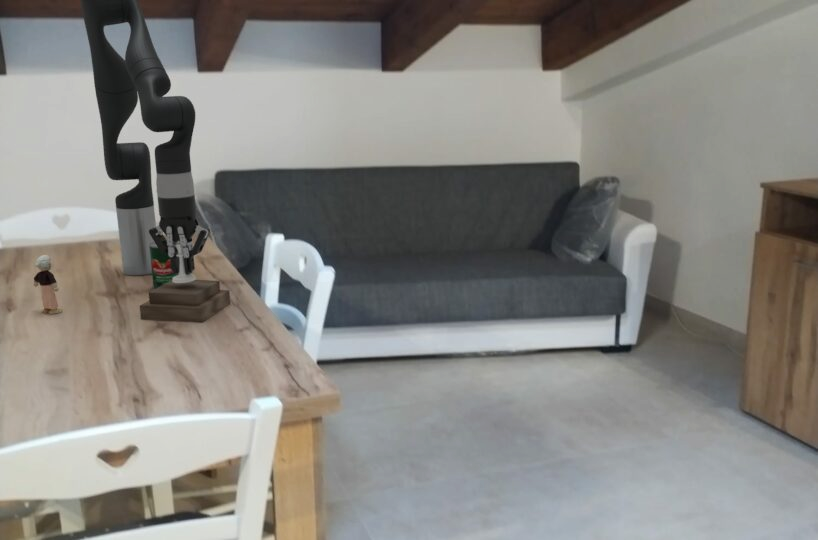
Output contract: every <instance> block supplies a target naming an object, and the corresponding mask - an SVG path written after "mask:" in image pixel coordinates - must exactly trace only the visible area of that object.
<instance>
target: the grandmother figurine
mask: <svg viewBox="0 0 818 540" xmlns="http://www.w3.org/2000/svg"><path fill="white" fill-rule="evenodd" d="M35 267H36V268H38V270H40V271H39V272H37V273H36V274H35V276H34V277H33V286H34V287H36V288H37V287H40V288H41V299H42V306H43V307H42V308H43V309H42V310H41V313H42V314H46V313H48V314H49V315H54V314H60V313H63V309H62V308H60V307H59V303H58V299H57V296H56V292H58V291H59V287H58V283H57V279H56V277H55V275H54V273H52V272H51V271H50V270H51V268H52V263H51V257H50V256H49V255H47V254H43V255H40V256H39V257H38V258H37V259H36V261H35V263H34V268H35Z"/></svg>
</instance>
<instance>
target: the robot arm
mask: <svg viewBox="0 0 818 540" xmlns="http://www.w3.org/2000/svg"><path fill="white" fill-rule="evenodd" d="M79 2H80V7H81V13H82V18H83V21H84V27H85V30H86V36H87V41H88V44H89V50H90V57H91V64H92V65H91V66H92V72H93V73H92V74H93V81H94V82H93V83H94V89H95V96H96V102H97V107H98V112H99V117H100V124H101V132H102V133H101V134H102V135H101V136H102V144H103V145H102V147H103V159H104V161H103V162H104V166H105V171H106V174H107V177H108V178H109V179H110V180H112V181H131V180H133V181H135V180H138V183H137V184H136V185H135V186H134V187H133V188H131V189H130V190H127V191H125V192H122V193H120V194H118V195H117V196H116V197H115V200H114V201H115V202H114V203H115V210H116V211H115V212H116V218H117V226H118V227H117V229H118V236H119V245H120V246H119V247H120V255H121V264H122V273H123V274H124V275H127V276H145V275H150V274H151V275H152V269H151V259H150V247H149V244H150V243H152V242H155V244H156V245H157V247H158V249H159V250H160V252H161V253H162V254H167V255H169V257H170V262H171V270H172V271H173V272H174V274H178V273H179V257H178V256H176V254H179V252H178V250H177V248H176V246H175V244H176V243H178V241H180V243H181V247H182V248H183V252H184V267H185V274H193V271H194V270H195V267H196V266H195V258H194V257H195V256H196V255H198V254H200V253H202V251H203V249H204V247H205V244H206V242H207V241H208V237H209V236H210V233H211V229H210V228H209V227H206V228H204V227H202V226H200V225H199V221H198V220H197V209H196V206H197V205H196V198H195V197H196V196H195V194H196V193H195V185H194V184H195V183H194V179H193V173H192V163H191V154H190V153H191V147H192V138H193V133H194V129H195V123H196V110H195V109H196V108H195V107H194V104H193V102H192V101H191V100H190V99H189V98H188V97H186V96H183V95H174V96H165V95H168V93H169V92H170V90H171V87H172V81H171V79H170V77H169V75H168V72H167V71H166V69H165V67H164V65H163V64H162V62H161V59H160V58H159V56H158V53H157V51H156V48H155V46H154V44H153V40H152V38H151V35H150V31H149V28H148V25H147V23H146V20H145V16H144V14H143V11H142V8H141V5H140V2H139V0H79ZM126 23H128V24H129V27H130V35H129V39H128V42H127V46H126V50H125V55H124V58H123V57H122V56H121V54H119V53H118V52H117V50H116V49H115V48H114V47H113V46H112V45H111V43H110V42H109V40H108V39H107V37H106V35H105V29H104V28H105V27H107V26H113V25H114V26H115V25H120V24H126ZM138 103H139V105H140V113H141V114H140V115H141V120H142V123H143V125H144V126H145V127H146V128H147V129H148V130H149V131H151V132H153V133H169V132H172V133H173V134H172V136H171V139H170V140H168V141H166V142H163V143H160V144H158V145H156V146H155V148H154V161H155V162H154V163H155V172H156V178H155V179H156V181H155V182H156V183H155V185H156V195H157V205H158V215H159V218H160V220H159V222H158V225H156V223H157V222H156V213H155V203H154V194H153V186H152V185H153V184H152V165H151V163H152V162H151V152H150V148H149V147H148V145H147V143H145V142H119V143H118V140H119V137H120V134H121V132H122V130H123V128H124V126H125V124H126V123H127V122H128V120H129V119H130V117H131V116H132V115H133V113H134V111H135V109H136V107H137V105H138ZM195 233H196V235H195ZM164 235H165V236H166V237H165V236H164ZM194 235H195V236H196V237H197V238H196V240H195V242H194ZM166 240H167V241H166Z"/></svg>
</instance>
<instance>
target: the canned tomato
mask: <svg viewBox="0 0 818 540" xmlns="http://www.w3.org/2000/svg"><path fill="white" fill-rule="evenodd" d="M166 241H167V239H166ZM149 247H150V259H151V269H152V273H151V278H152V286H153V287H152V290H154V289H156V288H158V287H160V286H162V285H163V284H165V283H167V282H169V281H171V280H173V279H172V278H173V277H174V276H176V275H179V274H174V272H173V271H172V270H171V262H170V257H169V255H167V254H162V253H161V252H160V250H159V249H158V247H157V245H156V244H155V242H152V243H150V244H149Z"/></svg>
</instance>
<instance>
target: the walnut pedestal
mask: <svg viewBox="0 0 818 540" xmlns="http://www.w3.org/2000/svg"><path fill="white" fill-rule="evenodd" d="M220 284H221V283H220V280H211V279H209V280H207V279H196V280H194V281H192V282H187V283H174V282H172V280H171V281H169V282H167V283H165V284H163V285H162V286H160V287H158V288H156V289H152V290H151V291H148V299H149V300H147V301H145V302H143V303H141V304H139V313H140V320H147V321H148V320H149V321H152V320H153V321H167V322H169V321H170V322H183V323H184V322H188V323H203V322H205V321H206V320H208V319H209V318H211V317H212V316H214V315H215V314H217V313H218V312H220V311H221V310H223V309H224V308H225V307H227V306H228V305H229V304H231V295H230V289H221V285H220Z"/></svg>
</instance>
